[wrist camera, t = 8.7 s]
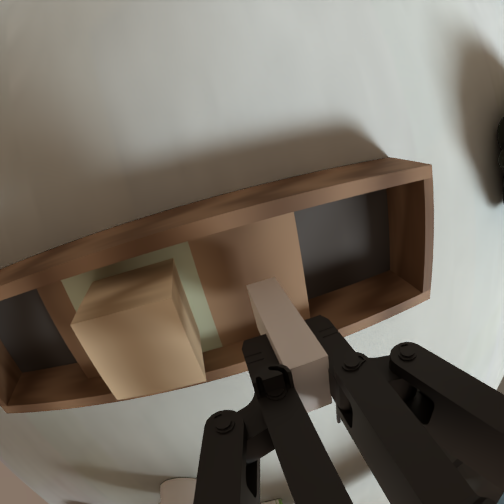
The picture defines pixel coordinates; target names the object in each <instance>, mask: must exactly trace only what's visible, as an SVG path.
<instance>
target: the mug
mask: <svg viewBox="0 0 504 504" xmlns="http://www.w3.org/2000/svg"><path fill="white" fill-rule="evenodd" d="M196 480H197V479H194V478H175V479H170V480H167V481H165V482H163V483H162V484H161V486H160V497H161V501H160V503H159V504H193V501H194V494H195V487H196Z"/></svg>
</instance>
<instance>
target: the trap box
mask: <svg viewBox="0 0 504 504" xmlns="http://www.w3.org/2000/svg"><path fill="white" fill-rule="evenodd" d="M433 239H434V201H433V177H432V165H430V164H425V163H420V162H414V161H409V160H403V159H397V158H390V157H388V158H383V159H377V160H372V161H366V162H361V163H356V164H351V165H346V166H341V167H336V168H331V169H327V170H322V171H317V172H313V173H308V174H304V175H299V176H295V177H291V178H286V179H282V180H278V181H274V182H270V183H265V184H261V185H257V186H253V187H249V188H246V189H242V190H238V191H234V192H230V193H226V194H223V195H219V196H215V197H212V198H208V199H204V200H201V201H197V202H194V203H190V204H187V205H183V206H180V207H176V208H173V209H170V210H166V211H163V212H160V213H156V214H153V215H150V216H147V217H144V218H140V219H137V220H134V221H131V222H128V223H125V224H122V225H119V226H116V227H113V228H110V229H107V230H104V231H101V232H98V233H95V234H92V235H89V236H86V237H83V238H81V239H78V240H75V241H72V242H69V243H67V244H64V245H61V246H58V247H56V248H53V249H50V250H48V251H45V252H42V253H40V254H37V255H35V256H32V257H30V258H27V259H24V260H22V261H19V262H17V263H14V264H12V265H10V266H7V267H5V268H2V269H0V406H1V407H2V408H3V410H4V411H5V412H6V413H25V412H39V411H50V410H60V409H69V408H78V407H85V406H92V405H99V404H106V403H112V402H118V401H124V400H129V399H135V398H140V397H145V396H150V395H155V394H159V393H164V392H169V391H173V390H177V389H182V388H186V387H190V386H194V385H198V384H202V383H206V382H210V381H213V380H217V379H221V378H224V377H228V376H231V375H235V374H238V373H242V372H245V371H248V368H247V365H246V362H245V358H244V355H243V352H242V346H243V342H244V340H247V339H250V338H254V337H257V336H260V333H259V330H258V328H257V324H256V320H255V316H254V313H253V309H252V305H251V301H250V297H249V294H248V290H247V286H246V285H249V284H253V283H256V282H259V281H263V280H266V279H269V278H273V277H275V278H276V280H277V281H278V283H279V284H280V286H281V287H282V289H283V290H284V292H285V293H286V294H287V296H288V297H289V299H290V300H291V302H292V303H293V305H294V306H295V308H296V309H297V311H298V312H299V313H300V315H301V316H302V318H303V319H304V320H306V319H309V318H312V317H315V316H318V315H321V316H323V317H325V318H328V319H329V320H330V321H331V322H332V324H333V325H334V327H336V329H337V330H338V331H339V332H340V334H341V335H342V336H343V337H345V336H348V335H350V334H353V333H355V332H358V331H360V330H362V329H365V328H367V327H370V326H372V325H374V324H376V323H379V322H381V321H383V320H386V319H388V318H390V317H392V316H394V315H397V314H399V313H401V312H403V311H405V310H407V309H409V308H411V307H414V306H416V305H418V304H420V303H422V302H424V301H426V300H428V299H430V290H431V278H432V263H433ZM171 258H173V259H174V262H175V265H176V268H177V271H178V274H179V277H180V280H181V282H182V285H183V288H184V291H185V294H186V297H187V299H188V302H189V305H190V308H191V310H192V313H193V316H194V318H195V321H196V324H197V326H198V329H199V333H200V340H201V348H202V355H203V362H204V368H205V375H206V381H205V382H201V383H197V384H193V385H189V386H184V387H180V388H176V389H171V390H167V391H162V392H158V393H153V394H148V395H143V396H138V397H132V398H127V399H121V400H117V399H116V398H115V396H114V395H113V393H112V392H111V390H110V389H109V387H108V386H107V385H106V383H105V382H104V380H103V379H102V377H101V376H100V374H99V372H98V371H97V369H96V368H95V366H94V365H93V363H92V361H91V360H90V358H89V357H88V355H87V353H86V352H85V350H84V348H83V346H82V345H81V343H80V341H79V340H78V338H77V336H76V334H75V333H74V331H73V329H72V327H71V325H70V324H71V322H72V320H73V318H74V316H75V314H76V312H77V310H78V308H79V306H80V304H81V302H82V301H83V299H84V297H85V295H86V293H87V291H88V289H89V287H90V286H91V284H92V282H93V281H97V280H100V279H103V278H107V277H110V276H113V275H117V274H120V273H123V272H127V271H130V270H134V269H137V268H140V267H144V266H147V265H151V264H154V263H157V262H161V261H164V260H168V259H171Z"/></svg>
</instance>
